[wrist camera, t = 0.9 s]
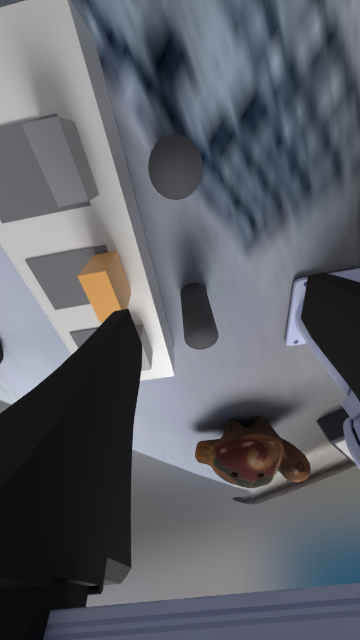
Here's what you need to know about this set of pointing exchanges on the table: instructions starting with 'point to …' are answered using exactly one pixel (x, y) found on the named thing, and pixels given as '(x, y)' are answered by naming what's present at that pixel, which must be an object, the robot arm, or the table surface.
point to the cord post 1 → (175, 167)
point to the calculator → (336, 431)
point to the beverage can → (1, 353)
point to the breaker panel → (69, 178)
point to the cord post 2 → (197, 317)
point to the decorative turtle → (252, 455)
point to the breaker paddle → (105, 284)
